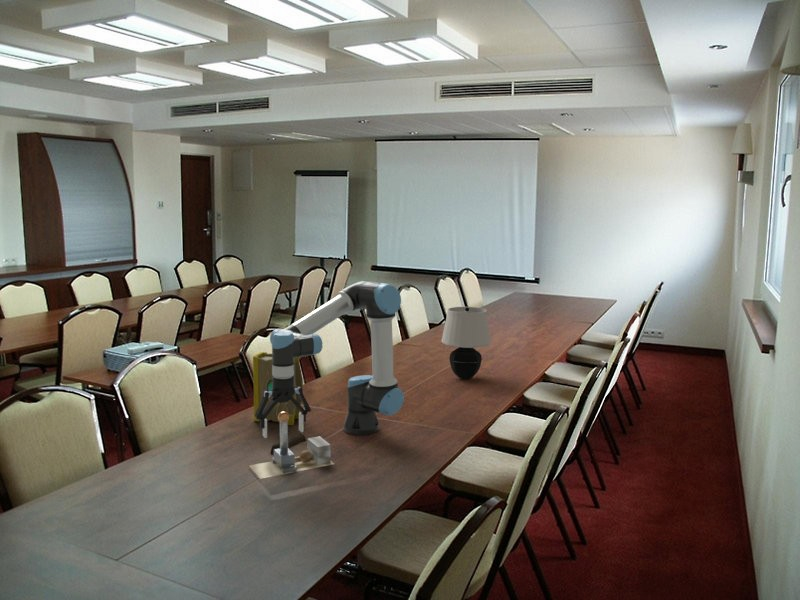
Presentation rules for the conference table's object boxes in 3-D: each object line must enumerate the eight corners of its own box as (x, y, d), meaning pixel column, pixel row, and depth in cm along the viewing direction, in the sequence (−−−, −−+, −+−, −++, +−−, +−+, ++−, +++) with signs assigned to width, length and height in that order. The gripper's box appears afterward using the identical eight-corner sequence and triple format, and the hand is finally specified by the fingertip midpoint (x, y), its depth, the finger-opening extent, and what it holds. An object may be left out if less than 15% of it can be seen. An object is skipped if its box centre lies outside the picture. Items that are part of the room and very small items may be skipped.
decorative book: (251, 421, 292) (250, 354, 288) (262, 413, 303) (261, 349, 299) (294, 425, 288) (294, 358, 284) (304, 417, 299) (304, 352, 294)
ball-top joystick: (284, 458, 247) (284, 405, 244) (296, 470, 237) (296, 415, 234) (271, 460, 245) (271, 407, 242) (283, 472, 234) (282, 417, 231)
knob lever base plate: (320, 455, 255) (320, 434, 254) (334, 467, 244) (334, 445, 242) (248, 469, 241) (248, 447, 240) (260, 482, 230) (259, 459, 229)
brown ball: (309, 459, 248) (309, 447, 247) (313, 463, 244) (313, 451, 243) (297, 461, 246) (297, 449, 245) (302, 465, 242) (302, 453, 241)
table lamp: (464, 370, 386) (467, 301, 380) (499, 380, 366) (502, 308, 360) (430, 377, 369) (431, 306, 363) (465, 388, 349) (467, 313, 343)
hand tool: (298, 442, 270) (298, 431, 269) (306, 444, 268) (306, 432, 267) (265, 456, 254) (265, 445, 253) (273, 459, 252) (273, 447, 251)
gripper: (311, 370, 245) (311, 425, 248) (245, 377, 233) (245, 435, 236) (320, 374, 239) (319, 431, 242) (251, 382, 226) (252, 442, 229)
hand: (283, 434), depth 239 cm, fingers open, 13 cm apart
